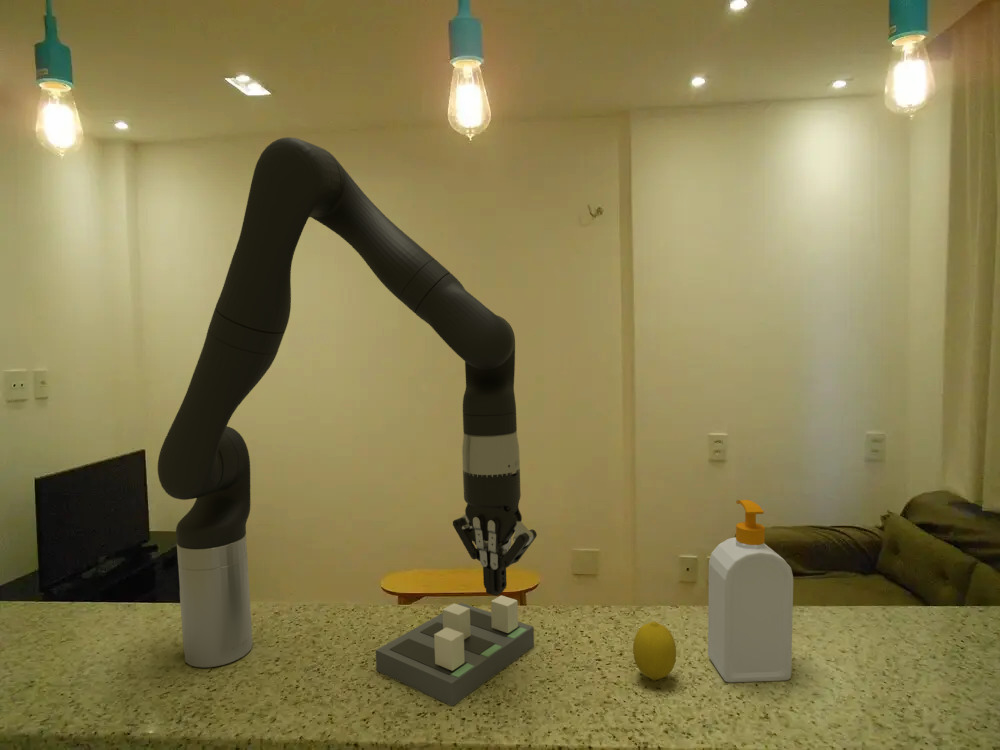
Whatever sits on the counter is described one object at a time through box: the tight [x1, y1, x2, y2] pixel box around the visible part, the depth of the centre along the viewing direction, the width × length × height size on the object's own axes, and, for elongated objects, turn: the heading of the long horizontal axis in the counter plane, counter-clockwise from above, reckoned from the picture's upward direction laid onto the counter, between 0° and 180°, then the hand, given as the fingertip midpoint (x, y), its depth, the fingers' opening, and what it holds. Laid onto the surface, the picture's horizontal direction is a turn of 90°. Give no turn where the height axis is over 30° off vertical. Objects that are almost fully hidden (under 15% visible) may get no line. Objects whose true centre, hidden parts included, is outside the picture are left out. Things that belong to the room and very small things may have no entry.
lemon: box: [632, 620, 677, 681], centre depth 86 cm, size 6×6×8 cm
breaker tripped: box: [442, 602, 471, 639], centre depth 92 cm, size 3×2×4 cm
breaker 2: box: [490, 594, 519, 633], centre depth 94 cm, size 3×2×4 cm
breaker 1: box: [434, 627, 464, 671], centre depth 85 cm, size 3×2×4 cm
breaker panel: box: [375, 602, 535, 707], centre depth 92 cm, size 14×18×3 cm
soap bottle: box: [707, 499, 794, 683], centre depth 87 cm, size 9×7×23 cm
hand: (495, 592), depth 87 cm, fingers closed
